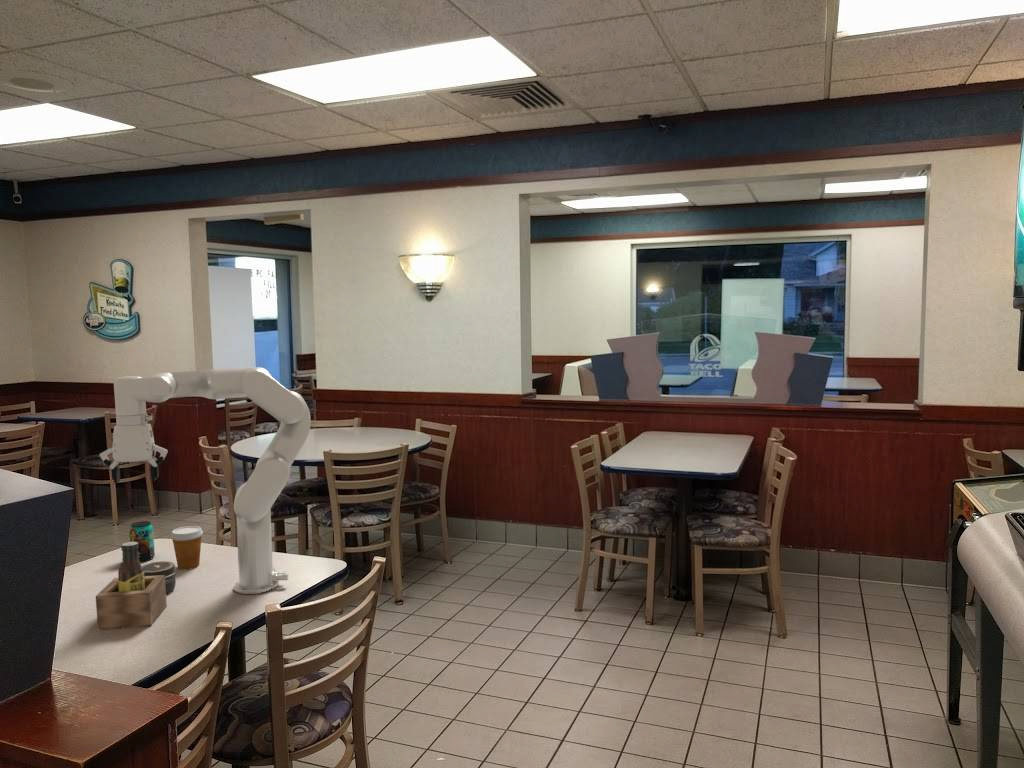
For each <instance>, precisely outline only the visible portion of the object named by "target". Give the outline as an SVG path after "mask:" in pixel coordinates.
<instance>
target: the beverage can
mask: <svg viewBox="0 0 1024 768" xmlns="http://www.w3.org/2000/svg"><path fill="white" fill-rule="evenodd" d="M130 526H131V527H130V528H129V530H128V532H129V542H138V546H139V547H138V557H139V558H138V559H139V561H144V562H147V561H146V560H148V561H150V560H149V559H151V558H152V559H153V558H155V555H156V554H155V538H154V537H155V536H154V526H153V525H152V523H151V521H144V520H143V521H136V522H133V523H132V524H131V525H130ZM152 559H151V560H152Z"/></svg>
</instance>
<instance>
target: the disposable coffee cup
mask: <svg viewBox="0 0 1024 768" xmlns="http://www.w3.org/2000/svg"><path fill="white" fill-rule="evenodd" d="M203 533H204V531H203V529H202V527H201V526H198V525H188V526H186V525H185V526H180V527H177V528H174V529H173V530H172V531H171V534H170V538H171V541H172V543H173V549H174V554H175V558H176V564H177V569H179V570H182V569H187V570H191V569H190V568H193V569H195V568H194V567H196V568H197V566H198V565H199V566H200V561H201V560H200V559H201V548H202V536H203ZM199 566H198V567H199Z"/></svg>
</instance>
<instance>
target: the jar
mask: <svg viewBox="0 0 1024 768" xmlns="http://www.w3.org/2000/svg"><path fill="white" fill-rule="evenodd" d="M141 566H142V568H143V571H144V576H156V575H165V584H166V595H168V593H169V594H170V592H171V593H172V592H173V591H174V590H175V587H176V583H177V582H176V580H177V579H176V565H175V563H174V562H173V561H168V560H165V561H164V560H161V561H153V562H149V563H145V564H143V565H141Z"/></svg>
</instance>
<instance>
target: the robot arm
mask: <svg viewBox="0 0 1024 768" xmlns="http://www.w3.org/2000/svg"><path fill="white" fill-rule="evenodd" d="M113 391H114V392H113V393H114V405H115V407H114V408H115V418H116V419H115V420H116V425H115V426H113V427H114V428H113V434H112V435H113V436H112V447H110V448H108V449H105V450H104V451H102V452H100V453H99V457H100V459H101V460H102V461H103V463H104V464H105V465H106V466H107V467H108V468H109V469H110V471H111V480H112V481H113V483H114V484H118V483H119V482H121V473H120V472H121V470H120V467H119V464H121V463H128V462H129V463H130V462H131V463H132V462H133V463H134V462H146V461H147V462H148V463H149V464H150V465H151V467H150V476H151V478H150V479H151V482H155V481H156V480H158V478H159V476H160V474H159V473H160V471H159V469H160V468H159V465H160V464H161V463H162V462H163V461H164V460H165V458H166V457H167V454H168V451H169V450H168V449H166V448H164V447H161V446H159V445H157V444H155V437H154V432H153V429H152V425H151V423H148V422H150V421H153V416H152V415H148V413H147V404H146V402H147V403H163V402H166V401H167V400H169V399H175V398H187V397H188V398H189V397H190V398H191V397H198V398H199V397H202V398H206V399H209V400H222V399H235V398H236V399H237V398H248V399H249V400H251V401H252V402H253V403H254V404H255V405H257V406H259V408H261V409H262V410H264V411H265V412H266V413H268V414H269V415H270V416H272V417H273V418H274V419H276V420H277V421H279V422H280V426H279V427H278V430H277V431H276V433H275V435H274V436H273V438H272V440H271V441H270V443H269V444H268V446H267V448H265V450H264V452H263V453H262V455H260V457H259V458H258V459H257V462H256V464H255V468H254V470H253V472H252V473H251V475H250V476H249V478H248V479H247V481H246V482H245V483H243V484H241V485H240V487H238V489H237V491H236V493H235V496H234V501H233V511H234V513H235V515H236V539H237V541H236V542H237V561H238V563H237V565H238V581H236V582H235V583H234V585H233V591H234V592H236V593H239V594H242V595H256V594H257V595H258V594H262V592H263V593H267V592H269V590H270V591H272V590H274V589H276V588H277V587H278V586H279V585H280V584H279V583H280V581H288V580H289V573H286V571H280V572H278V571H276V567H274V566H273V543H272V518H271V517H272V516H271V514H272V513H271V512H272V511H271V508H272V507H273V505H274V503H275V501H277V498H278V497H279V496H280V494H281V493H282V491H283V489H284V488H285V486H286V484H287V483H288V480H289V478H290V475H291V467H292V465H293V463H294V461H295V460H296V458H297V457H298V455H299V453H300V451H301V449H302V448H303V446H304V444H305V443H306V441H307V439H308V437H309V435H310V434H309V433H310V431H311V423H312V422H311V412H310V408H309V407H308V404H307V403H306V401H305V399H304V397H303V396H302V395H301V394H299V393H298V392H296V391H292V390H289V389H288V388H286V387H285V386H284V385H282V384H281V383H280V382H279V381H277V380H276V379H275V378H274V377H272V373H270V371H269V370H267V369H266V368H264V367H261V366H252V367H237V368H235V367H233V368H218V369H217V368H216V369H204V370H189V371H188V370H187V371H172V372H170V371H167V372H160V373H155V374H154V375H152V376H144V377H142V376H138V375H126V376H119V377H116V378H115V379H114V381H113ZM156 452H158V453H159V454H160V455H159V457H158V458H156V457H155V456H156ZM111 453H112V458H113V460H111V459H110V458H109V456H108V455H109V454H111ZM271 589H272V590H271ZM266 591H267V592H266Z"/></svg>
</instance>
